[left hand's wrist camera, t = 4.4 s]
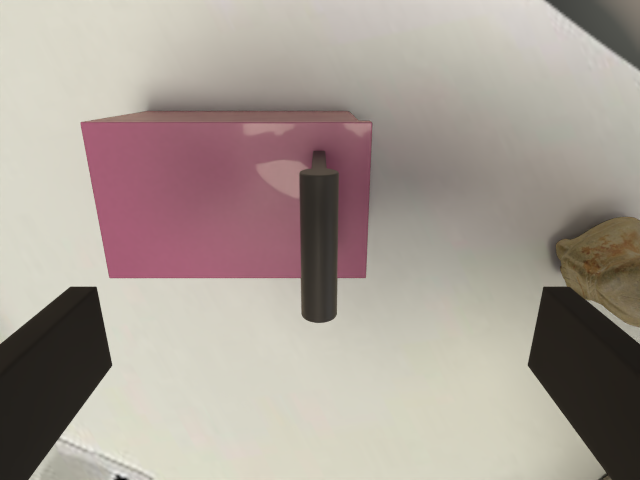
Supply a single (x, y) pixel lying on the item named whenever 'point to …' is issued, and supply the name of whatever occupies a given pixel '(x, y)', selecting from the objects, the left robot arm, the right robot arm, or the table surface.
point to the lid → (234, 201)
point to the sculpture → (606, 266)
